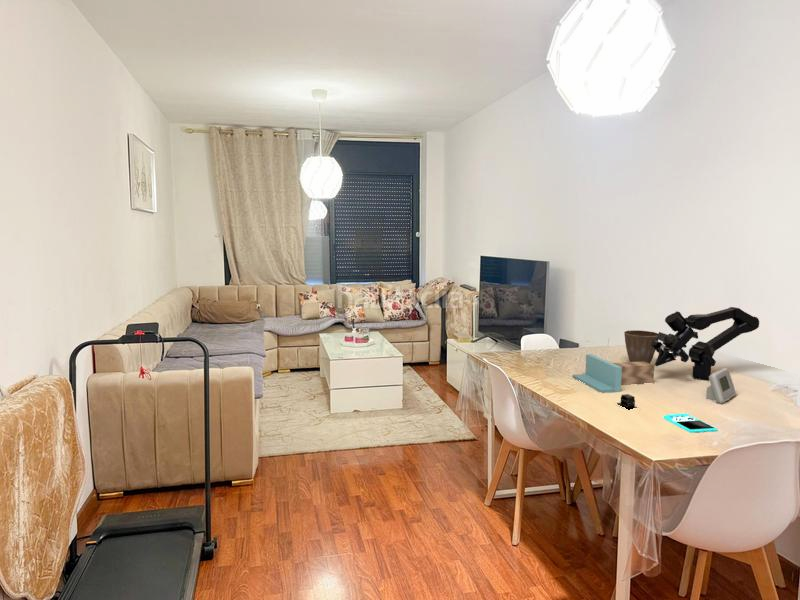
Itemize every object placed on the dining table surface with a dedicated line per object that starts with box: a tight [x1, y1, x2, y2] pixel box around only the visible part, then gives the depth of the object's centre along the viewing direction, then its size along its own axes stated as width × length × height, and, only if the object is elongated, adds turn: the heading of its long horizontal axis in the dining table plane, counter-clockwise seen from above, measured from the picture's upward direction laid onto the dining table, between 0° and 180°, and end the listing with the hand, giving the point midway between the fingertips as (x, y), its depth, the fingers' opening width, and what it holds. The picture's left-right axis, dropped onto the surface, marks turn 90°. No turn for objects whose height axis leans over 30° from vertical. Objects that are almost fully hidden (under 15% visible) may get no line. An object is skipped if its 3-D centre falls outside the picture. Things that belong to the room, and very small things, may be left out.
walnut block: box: [612, 361, 655, 386], centre depth 240 cm, size 16×7×8 cm, turn 100°
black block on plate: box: [616, 393, 638, 411], centre depth 208 cm, size 12×7×5 cm, turn 16°
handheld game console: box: [663, 413, 719, 434], centre depth 190 cm, size 10×16×1 cm, turn 9°
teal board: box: [571, 353, 622, 394], centre depth 237 cm, size 8×24×10 cm, turn 10°
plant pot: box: [624, 329, 659, 364], centre depth 266 cm, size 15×15×16 cm
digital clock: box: [705, 367, 737, 404], centre depth 217 cm, size 16×9×11 cm, turn 122°
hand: (655, 365), depth 242 cm, fingers closed
